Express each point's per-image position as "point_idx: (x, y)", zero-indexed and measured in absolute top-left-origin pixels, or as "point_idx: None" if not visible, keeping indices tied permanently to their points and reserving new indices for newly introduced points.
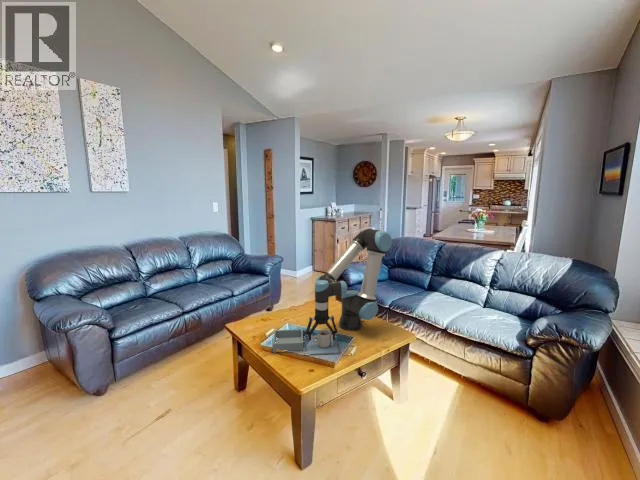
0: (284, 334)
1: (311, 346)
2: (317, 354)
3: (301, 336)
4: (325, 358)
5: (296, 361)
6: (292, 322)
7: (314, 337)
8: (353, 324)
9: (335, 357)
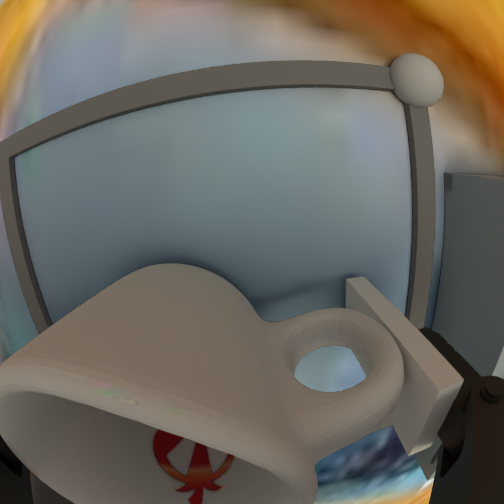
0: None
1: (360, 277)
2: (266, 62)
3: (500, 371)
4: (157, 9)
5: (454, 10)
6: (398, 501)
7: (378, 371)
8: (42, 490)
9: (51, 59)
